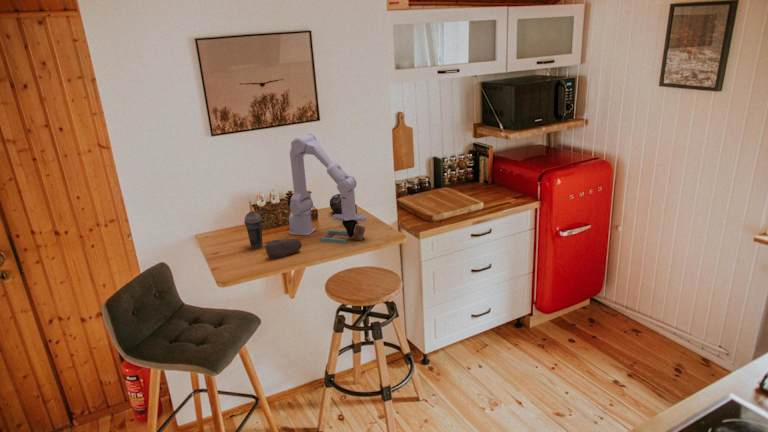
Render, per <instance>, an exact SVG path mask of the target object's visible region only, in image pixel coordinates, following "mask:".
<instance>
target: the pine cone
mask: <svg viewBox="0 0 768 432" xmlns="http://www.w3.org/2000/svg"><path fill="white" fill-rule="evenodd" d="M329 207H330V209H331V210H332V214H333V215H334V214H342V204H341V196H340V193H337V194H334V195H332V197H331V198H330V200H329ZM333 215H332V216H333Z"/></svg>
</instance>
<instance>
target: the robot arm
mask: <svg viewBox="0 0 768 432" xmlns="http://www.w3.org/2000/svg"><path fill="white" fill-rule="evenodd" d="M290 146H291V148H290V152H289V158H290V167H291V176H292V177H291V178H292V185H293V186H292V187H293V194H292V196H291V198H290V204H289V211H290V212H291V213H290V214H289V217H288V223H289V224H288V225H289V235H295V236H310V235H311V234H312V233H314V232H315V231H316V230H317V228H314V227H313V223H312V214H311V212H312V209H313V207H314V202H313V198H312V197H311V193H310V192H308V191H307V181H306V180H307V179H306V171H305V160H304V156H305V155H313V156H314V157H315V158H316V160H318V161H319V162H320V163H321V164H322V165H323V166H324V167H325V168H326V172H327V175H328V176H329V177H330V178H331V179H332V180H333V181H334V182H335V183H336V185H337V186H336V189H337V190H338V192H339V194H340V196H341V204H342V214H334V215H332V220H333V221H336V220H339V221H342V222H341V223H342V226H343V227H344V229H345V231H347V233H348V235H347V236H348V238H353V233H354V229H355V226H356V224H358V222H363V223H365V222H367V216H366V215H361V214H358V213H357V214H356V207H355V204H356V198H355V195H356V194H355V188H357V181H356V179H355V177H354V176H352V175H349V174H347V173H346V172H345V170H344V169H343V167H342V166H341V165H340V164H339V163H338V162H337V163H336V162H333V160H332V159H331V158H330V156H329V155H328V154H327V152H326V151H325V150H324V148H323V147H322V146H321V143H320V140H319V139H318V138H317V137H316V135H314V134H312V133H309V134H306V135H303V136H299V137H295V138H294V139H293V140H292V141H291V142H290Z"/></svg>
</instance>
